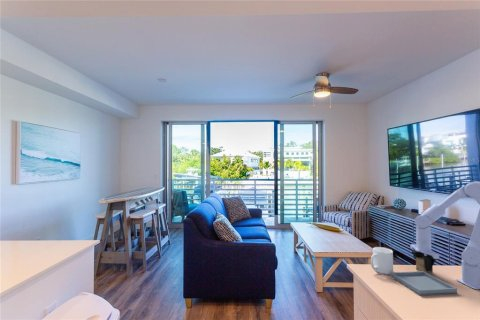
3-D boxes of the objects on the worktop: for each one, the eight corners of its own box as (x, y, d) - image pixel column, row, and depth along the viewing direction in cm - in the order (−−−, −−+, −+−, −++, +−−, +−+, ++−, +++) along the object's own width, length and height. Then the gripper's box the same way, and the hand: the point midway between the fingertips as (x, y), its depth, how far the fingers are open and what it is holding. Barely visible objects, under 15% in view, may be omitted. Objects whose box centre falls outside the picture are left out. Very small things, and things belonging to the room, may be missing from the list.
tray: (423, 275, 113) (423, 271, 113) (457, 293, 97) (456, 288, 97) (391, 277, 112) (391, 272, 112) (419, 295, 96) (419, 290, 96)
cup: (397, 273, 116) (396, 251, 116) (379, 277, 111) (378, 255, 112) (381, 266, 124) (381, 246, 124) (363, 270, 119) (363, 249, 119)
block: (424, 269, 120) (424, 257, 120) (432, 273, 115) (432, 260, 115) (416, 269, 119) (415, 257, 119) (423, 273, 115) (423, 260, 115)
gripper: (404, 236, 125) (405, 262, 124) (428, 245, 110) (429, 275, 110) (417, 235, 125) (417, 262, 125) (443, 244, 111) (443, 274, 110)
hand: (424, 268), depth 117 cm, fingers closed on block, 4 cm apart
